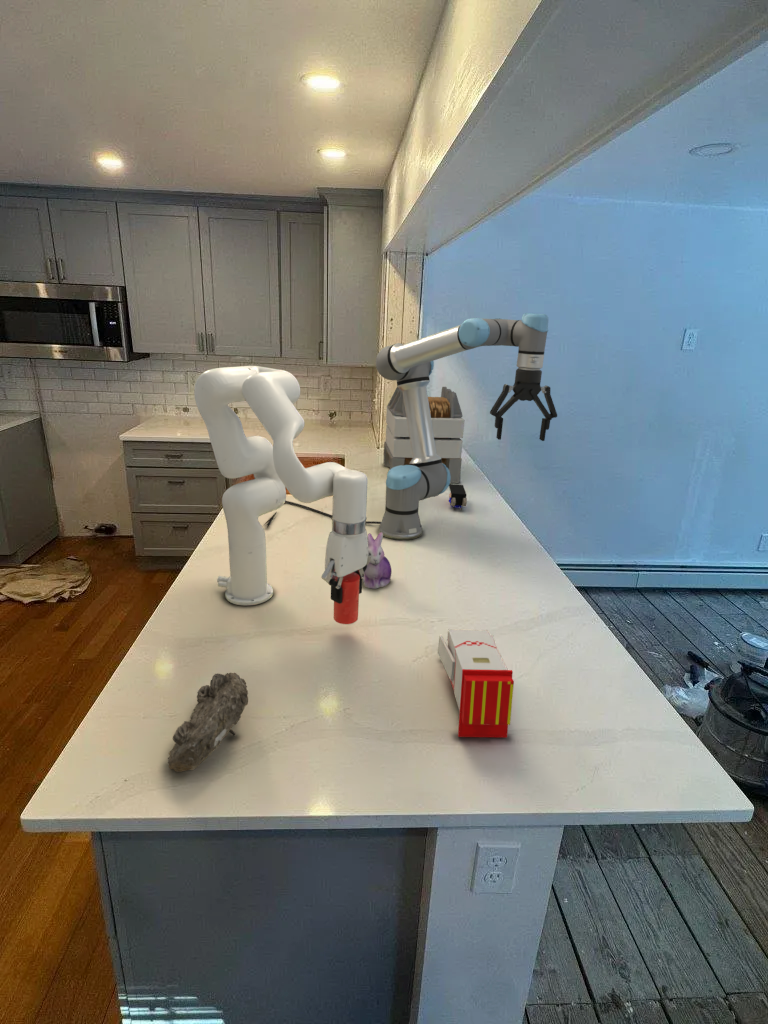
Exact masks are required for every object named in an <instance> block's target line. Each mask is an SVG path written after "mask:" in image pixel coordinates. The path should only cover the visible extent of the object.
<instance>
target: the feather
mask: <svg viewBox="0 0 768 1024" xmlns="http://www.w3.org/2000/svg"><path fill="white" fill-rule="evenodd" d="M276 514H277V512H275V513H274V514H273V515H272V516H271V517H270V518H268V520H267V521H266V522H265V523H264V524H263V526H265V525H266V529H268V528H269V527H270V525H271V523H272V521H273V519H274V518H275V516H276Z"/></svg>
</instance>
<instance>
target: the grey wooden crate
mask: <svg viewBox="0 0 768 1024" xmlns="http://www.w3.org/2000/svg"><path fill="white" fill-rule="evenodd" d="M440 393H441V394H440V396H428V402H429V408H430V415H431V422H432V428H433V435H434V441H435V448H436V454H437V455H438V456H440V457H441V459H442V463H443V464H445V465H446V467H447V468H448V469H449V472H450V476H451V479H450V484H459V483H461V472H462V461H463V460H462V453H463V442H464V441H463V440H462V439H463V438H464V431H465V430H464V429H465V419H464V418H463V411H462V408H461V405H460V402H459V398H458V395H457V392H455V391H453V390H452V389H451V388H447V386H442V387H441V392H440ZM385 414H386V415H385V423H386V428H385V438H384V442H383V466H384V467H388V468H389V470H390V469H391V468H393V467H396V466H400V465H403V466H404V465H410V461H411V460H412V458H413V455H412V449H411V443H410V436H409V430H408V423H407V417H406V411H405V404H404V398H403V392H402V390H401V389H399V388H398V387H397V386H396V388H395V390H394V392H393V394H392V395H391V398H390V400H389V402H388V404H387V405H386V413H385Z"/></svg>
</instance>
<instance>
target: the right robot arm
mask: <svg viewBox="0 0 768 1024" xmlns="http://www.w3.org/2000/svg"><path fill="white" fill-rule="evenodd" d="M548 333H549V316H548V315H547V314H546V313H527V312H526V313H523V314H522V317H521V319H507V318H480V317H473V318H467V319H465V320H464V321H463V322H462V323H461V324H458V325H456V326H452V327H451V328H447V329H443V330H442V331H437V332H436V333H433V334H430V335H427V336H424V337H422V338H418V339H416V340H413V341H409V342H407V343H400V342H398V343H394V344H391V345H387V346H384V347H383V348H381V349H380V350H379V351H378V353H377V355H376V357H375V368H376V370H377V372H378V374H379V375H380V376H381V377H382V378H384V379H385V380H388V381H396V388H397V387H398V388H399V389H401V390H402V392H403V398H404V404H405V411H406V417H407V423H408V430H409V436H410V443H411V449H412V455H413V458H412V460H411V461H410V465H404V466H403V465H400V466H396V467H393V468H391V469H390V468H389V470H388V472H387V474H386V479H385V504H384V505H385V507H384V508H385V509H384V513H383V515H382V519H381V521H368V520H366V525H367V524H369V525H371V524H373V525H378V533H381V532H382V533H383V538H384V537H385V538H387V539H389V540H395V541H410V540H415V539H418V538H420V537H421V536H422V535H423V525H422V524H421V518H420V515H419V507H420V506H419V505H420V501H423V500H426V499H430V498H434V497H438V496H439V495H441V494H444V493H445V492H446V491H447V489H448V488H449V484H451V483H450V479H451V476H450V472H449V469H448V468H447V467H446V465H445V464H443V463H442V459H441V457H440V456H438V455H437V454H436V448H435V441H434V435H433V428H432V422H431V415H430V408H429V402H428V397H429V396H428V395H429V394H428V389H427V387H428V385H429V383H430V382H431V380H430V376H431V375H432V373H433V370H434V368H435V367H434V366H435V362H434V361H436V360H440V359H443V358H446V357H449V356H452V355H455V354H459V353H462V352H466V351H470V350H473V349H476V348H480V347H494V346H495V347H496V346H497V347H498V346H504V347H505V346H506V347H516V348H517V347H518V351H517V358H516V359H517V360H516V369H515V376H514V383H513V385H509V384H508V383H505V384H503V386H502V390H501V392H500V394H499V396H498V397H497V399H496V401H495V402H494V403H493V406H492V407H491V409H490V411H489V415H491V416H493V417H494V428H495V429H497V430H496V436H495V438H496V439H497V440H500V441H501V440H502V433H503V424H504V417H503V416H504V415H505V413H506V412H508V410H509V409H511V407H512V406H514V404H515V403H517V402H518V401H522V402H524V401H528V402H532V401H533V402H534V403H535V405H536V407H538V409H539V411H540V413H542V415H543V416H544V417H541V424H540V431H539V438H538V439H539V440H540V441H541V442H544V441H546V434H547V431H548V430H550V427H551V420H552V419H555V418H558V413H557V410H556V406H555V404H554V400H553V397H552V395H551V386H550V385H549V386H548V385H544V386H541V382H542V374H543V371H542V370H541V369H543V367H544V360H545V359H544V358H545V351H546V344H547V338H548ZM511 391H512V392H513V394H512V395H511V396H510V398H509V399H508V400H507V401H506V402H505V403H504V401H505V400H506V398H507V396H508V394H509V393H510V392H511ZM540 392H541V393H542V394H543V397H544V399H545V402H546V404H547V407H548V409H547V408H546V407H545V405H544V404H543V402H542V400H541V399H540V397H539V396H538V395H539V394H540ZM503 403H504V404H503ZM502 404H503V405H502ZM284 504H290V505H293V506H296V507H300V508H304V509H306V510H310V511H312V512H316V513H318V514H321V515H324V516H326V517H329V518H332V514H329V513H327V512H324V511H321V510H318V509H317V508H313V507H311V506H307V505H303V504H300V503H297V502H293V501H289V500H285V503H284Z"/></svg>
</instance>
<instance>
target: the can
mask: <svg viewBox="0 0 768 1024" xmlns="http://www.w3.org/2000/svg"><path fill="white" fill-rule="evenodd" d="M337 580H338V577H337V576H336V578H335V581H336V582H337ZM359 584H360V576H359V575H358V574H357V573H355V572H352V573H350V574H348V575H345V576H344V577H343V580H342V584H341V587H342V588H343V593H342V603H340V604H339V603H337V602H335V601H333V620H334V621H335V622H336V623H338V624H341V625H351V624H354V623H356V622H357V621H358V619H359V607H360V605H359V603H360V594H359Z"/></svg>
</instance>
